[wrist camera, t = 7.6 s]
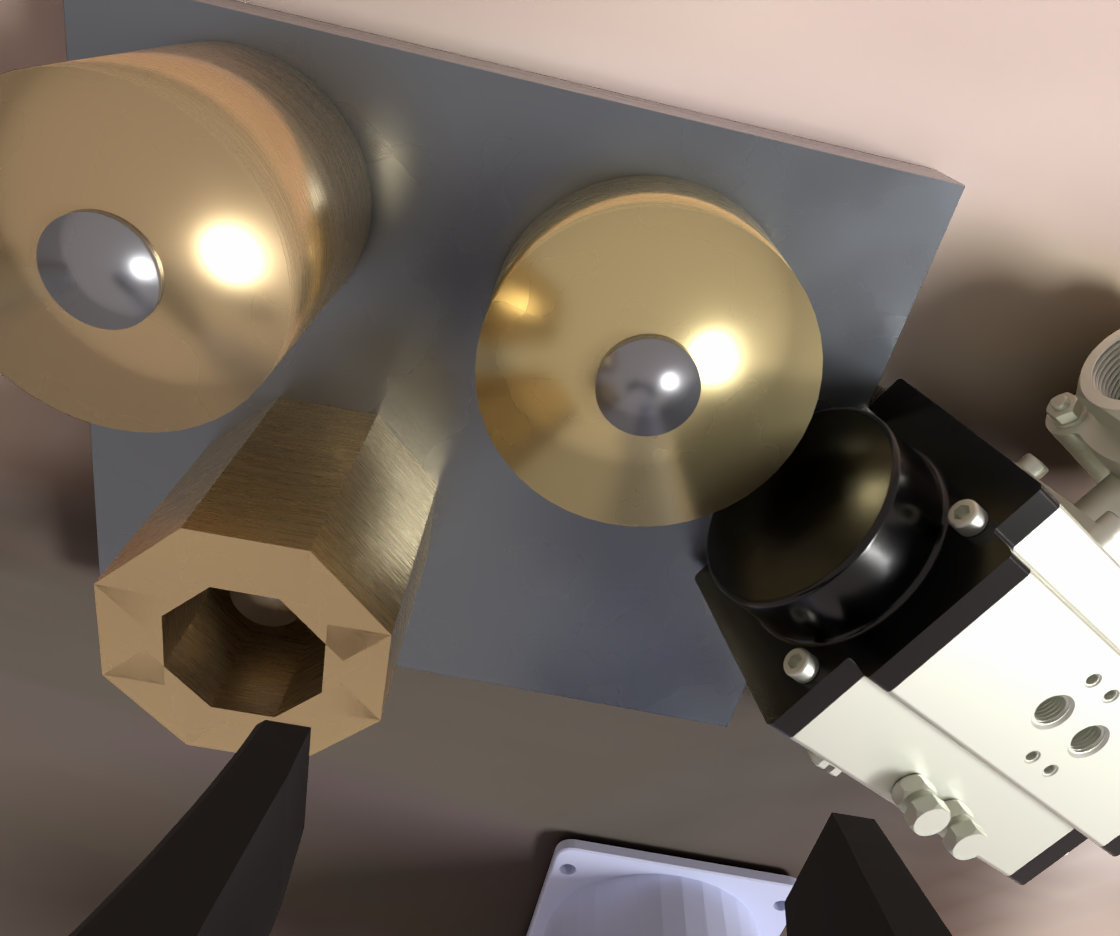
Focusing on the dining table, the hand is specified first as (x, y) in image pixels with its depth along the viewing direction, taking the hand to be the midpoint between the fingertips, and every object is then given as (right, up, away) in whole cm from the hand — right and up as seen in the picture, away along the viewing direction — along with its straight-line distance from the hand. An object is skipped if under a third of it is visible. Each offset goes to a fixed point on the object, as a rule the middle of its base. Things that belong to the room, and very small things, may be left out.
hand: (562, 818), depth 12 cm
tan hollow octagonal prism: (-5, +4, +8) cm, 10 cm away
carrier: (-2, +6, +8) cm, 10 cm away
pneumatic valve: (+14, +7, +4) cm, 16 cm away
